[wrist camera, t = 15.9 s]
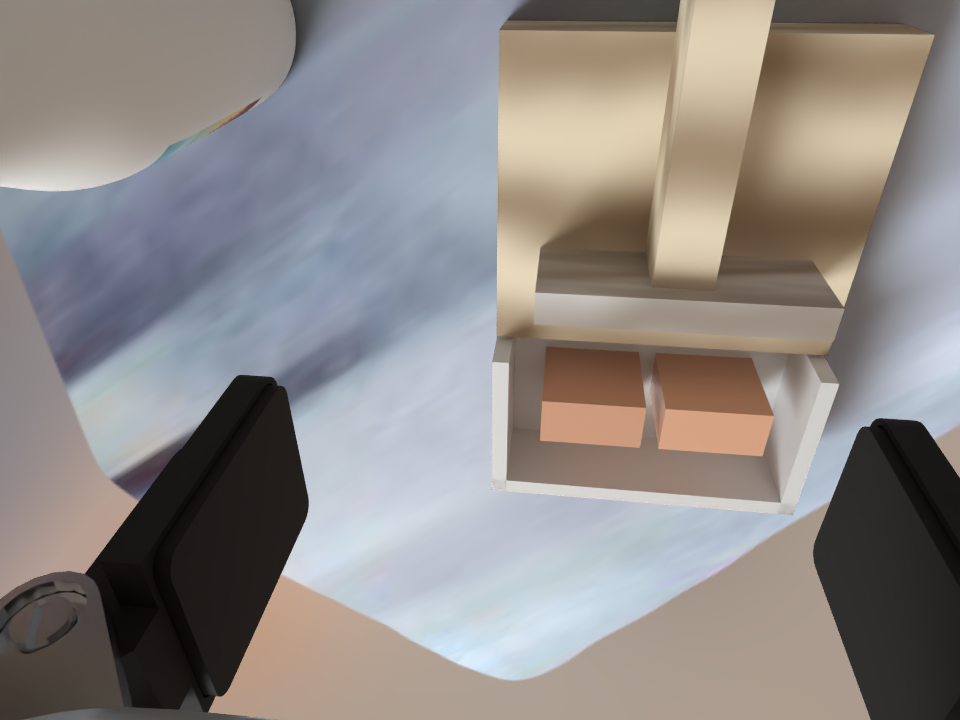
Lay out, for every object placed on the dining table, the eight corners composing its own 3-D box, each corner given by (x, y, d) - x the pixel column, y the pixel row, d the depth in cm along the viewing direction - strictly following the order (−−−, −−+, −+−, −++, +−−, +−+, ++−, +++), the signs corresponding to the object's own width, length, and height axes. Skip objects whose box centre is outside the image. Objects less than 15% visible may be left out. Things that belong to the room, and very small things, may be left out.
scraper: (553, -27, 25) (548, -18, 21) (895, -27, 24) (953, -16, 20) (538, 276, 32) (533, 324, 28) (802, 289, 31) (833, 341, 27)
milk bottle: (150, -125, 27) (-506, -189, 11) (324, -25, 29) (-26, 55, 12) (120, 56, 32) (-389, 209, 15) (273, 136, 33) (-40, 361, 16)
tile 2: (541, 401, 33) (539, 440, 34) (646, 407, 32) (640, 447, 34) (546, 346, 37) (544, 383, 38) (638, 352, 36) (633, 389, 38)
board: (506, 20, 29) (499, 30, 26) (902, 23, 27) (934, 34, 24) (502, 307, 36) (496, 336, 34) (809, 324, 35) (827, 355, 32)
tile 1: (665, 409, 32) (658, 448, 33) (774, 416, 31) (762, 456, 33) (655, 352, 36) (649, 390, 38) (751, 358, 36) (741, 396, 37)
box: (502, 311, 36) (492, 362, 32) (808, 328, 35) (839, 383, 31) (500, 432, 41) (491, 489, 37) (770, 452, 39) (793, 514, 35)
